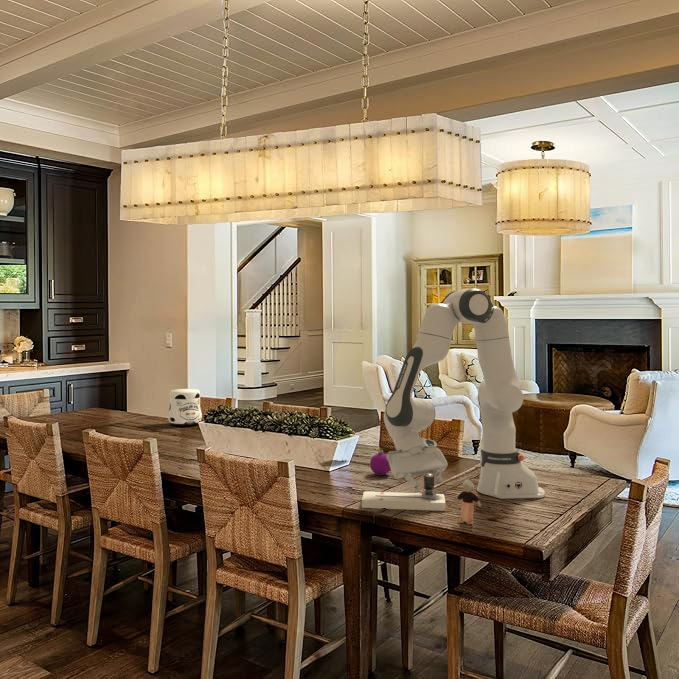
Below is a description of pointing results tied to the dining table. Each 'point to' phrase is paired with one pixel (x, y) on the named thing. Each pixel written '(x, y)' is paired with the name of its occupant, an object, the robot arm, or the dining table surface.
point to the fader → (429, 487)
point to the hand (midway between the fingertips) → (428, 485)
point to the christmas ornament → (380, 463)
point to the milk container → (184, 407)
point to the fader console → (402, 501)
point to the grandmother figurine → (467, 502)
